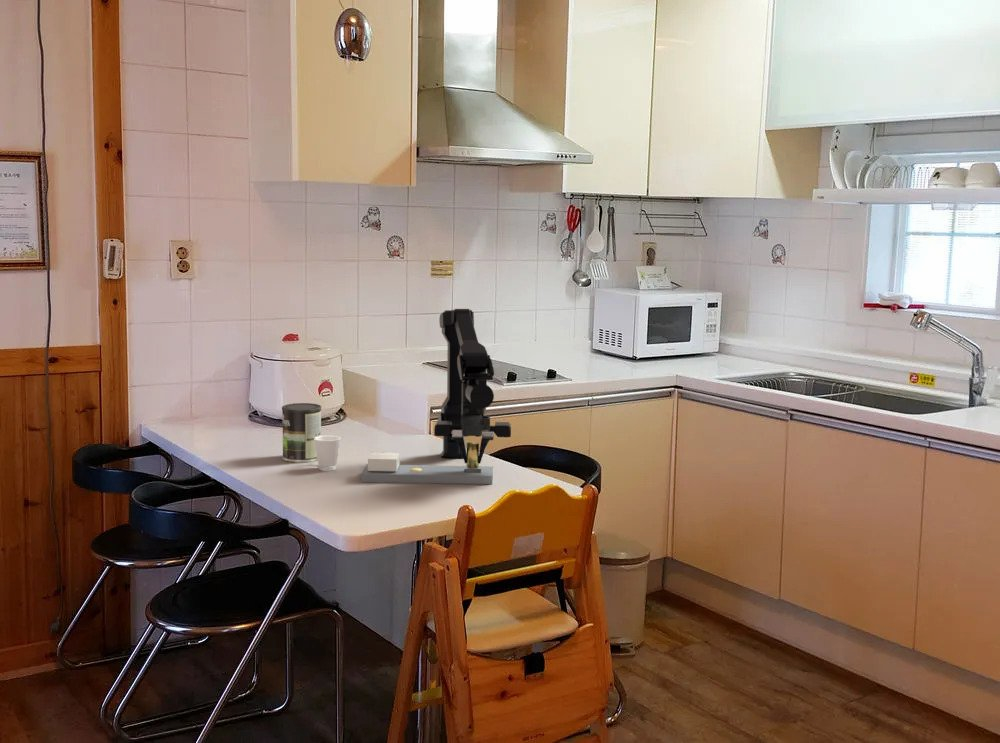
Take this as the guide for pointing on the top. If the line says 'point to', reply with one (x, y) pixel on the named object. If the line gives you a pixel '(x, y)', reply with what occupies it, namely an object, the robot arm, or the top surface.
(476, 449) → the pin
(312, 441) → the coffee can
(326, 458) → the cup
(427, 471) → the board
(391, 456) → the cover
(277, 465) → the top surface
